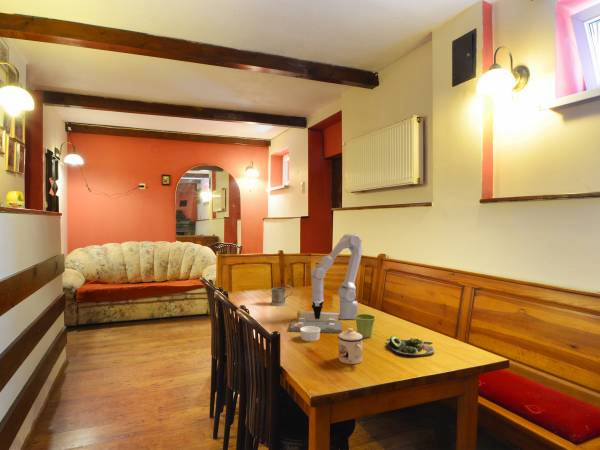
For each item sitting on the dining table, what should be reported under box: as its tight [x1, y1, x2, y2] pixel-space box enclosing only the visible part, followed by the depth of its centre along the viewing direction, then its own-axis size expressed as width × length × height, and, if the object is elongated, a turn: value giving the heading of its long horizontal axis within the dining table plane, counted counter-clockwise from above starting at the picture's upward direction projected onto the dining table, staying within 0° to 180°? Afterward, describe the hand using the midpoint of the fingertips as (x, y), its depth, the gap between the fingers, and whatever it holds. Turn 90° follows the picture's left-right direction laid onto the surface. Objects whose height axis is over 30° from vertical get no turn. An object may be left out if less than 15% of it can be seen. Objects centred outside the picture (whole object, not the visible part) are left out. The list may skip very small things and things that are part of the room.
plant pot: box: [354, 313, 377, 339], centre depth 164 cm, size 9×9×9 cm
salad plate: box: [385, 335, 436, 358], centre depth 148 cm, size 19×18×5 cm
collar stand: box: [289, 318, 343, 334], centre depth 175 cm, size 24×12×4 cm, turn 85°
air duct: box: [296, 310, 339, 322], centre depth 189 cm, size 21×4×4 cm, turn 85°
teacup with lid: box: [337, 327, 364, 365], centre depth 135 cm, size 12×9×12 cm
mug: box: [269, 284, 294, 307], centre depth 223 cm, size 14×10×12 cm
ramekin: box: [300, 326, 321, 342], centre depth 160 cm, size 9×9×4 cm
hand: (317, 317), depth 189 cm, fingers open, 6 cm apart
